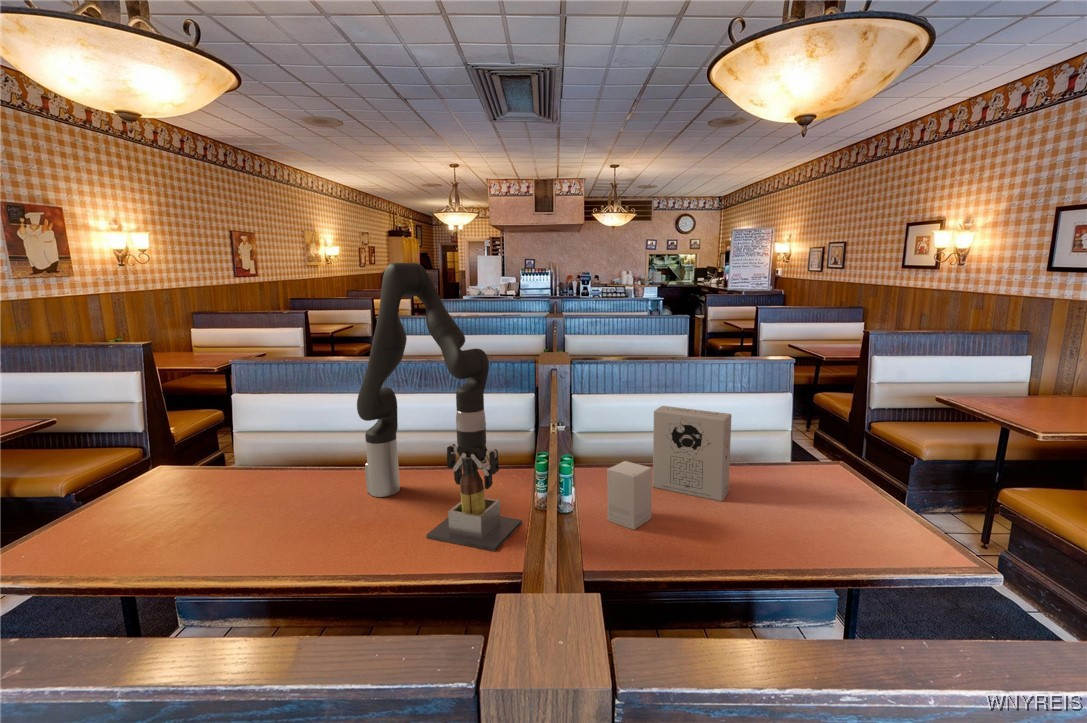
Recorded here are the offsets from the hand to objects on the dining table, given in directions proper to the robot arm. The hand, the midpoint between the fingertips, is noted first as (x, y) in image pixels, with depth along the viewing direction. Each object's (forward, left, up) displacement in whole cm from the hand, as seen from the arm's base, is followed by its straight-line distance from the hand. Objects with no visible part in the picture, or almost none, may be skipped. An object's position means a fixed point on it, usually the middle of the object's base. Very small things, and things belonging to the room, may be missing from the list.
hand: (473, 485), depth 140 cm
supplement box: (+37, +20, -13) cm, 44 cm away
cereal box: (+50, +46, -13) cm, 69 cm away
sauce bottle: (0, 0, -12) cm, 12 cm away
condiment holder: (0, 0, -13) cm, 13 cm away
